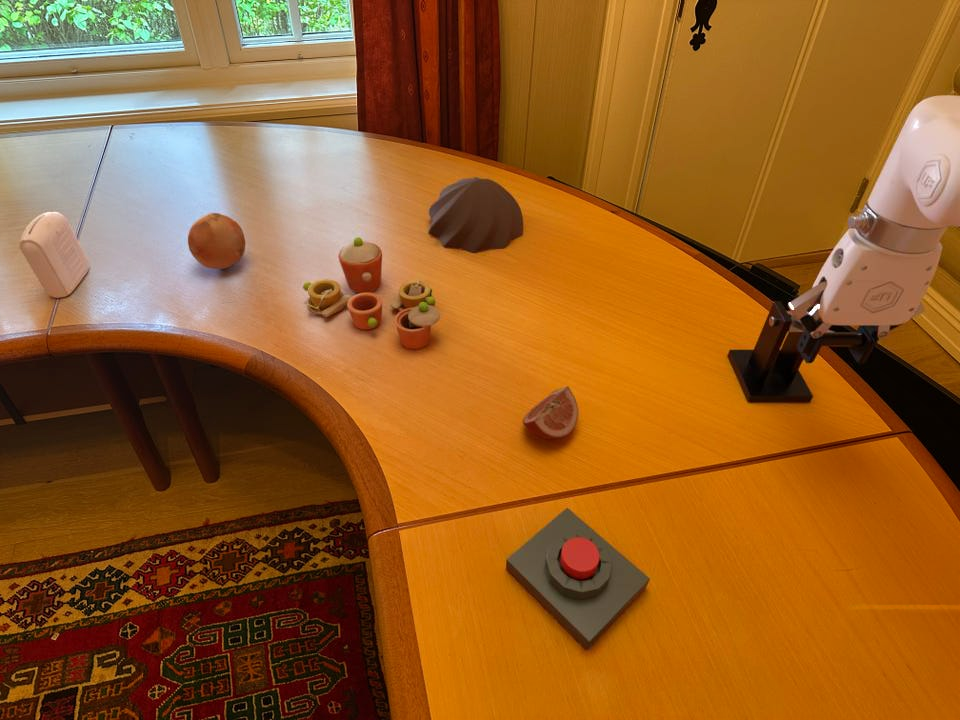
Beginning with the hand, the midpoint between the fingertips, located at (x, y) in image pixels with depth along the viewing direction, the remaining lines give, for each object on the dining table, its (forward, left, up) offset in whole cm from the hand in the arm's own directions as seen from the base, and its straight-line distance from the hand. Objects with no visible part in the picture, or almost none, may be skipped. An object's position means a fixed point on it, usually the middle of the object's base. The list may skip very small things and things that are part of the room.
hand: (830, 354), depth 74 cm
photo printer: (+103, +64, -14) cm, 122 cm away
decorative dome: (+69, -3, -14) cm, 71 cm away
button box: (+5, +39, -14) cm, 42 cm away
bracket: (+7, -7, -14) cm, 17 cm away
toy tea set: (+59, +27, -14) cm, 67 cm away
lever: (+3, -3, -1) cm, 5 cm away
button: (+5, +39, -10) cm, 41 cm away
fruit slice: (+22, +25, -14) cm, 36 cm away
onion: (+90, +41, -14) cm, 100 cm away
